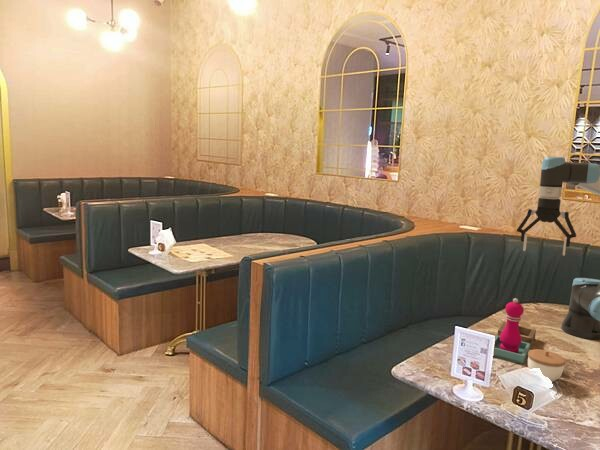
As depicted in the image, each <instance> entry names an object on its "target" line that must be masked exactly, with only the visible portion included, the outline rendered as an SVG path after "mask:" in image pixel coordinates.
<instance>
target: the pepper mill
mask: <svg viewBox="0 0 600 450" xmlns="http://www.w3.org/2000/svg"><path fill="white" fill-rule="evenodd" d="M504 310H505V313H506V315H505V319H506V326H505V328H504V330H503V331H502V333H501V335H500V341H501V342H502V344H500V349H502V350H506V351H510V352H514V353H518V352H519V348H518V346H519V345H520V344H521V335H520V333H519V328H518V326H519V324H520V322H521V321H522V320H521V319H522V315H523V314H524V306H523V305H522V304H521V303H520V302H519V298H516V297H515V298H512V301H511V302H508V303H507V304H506V305H505V309H504Z"/></svg>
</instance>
